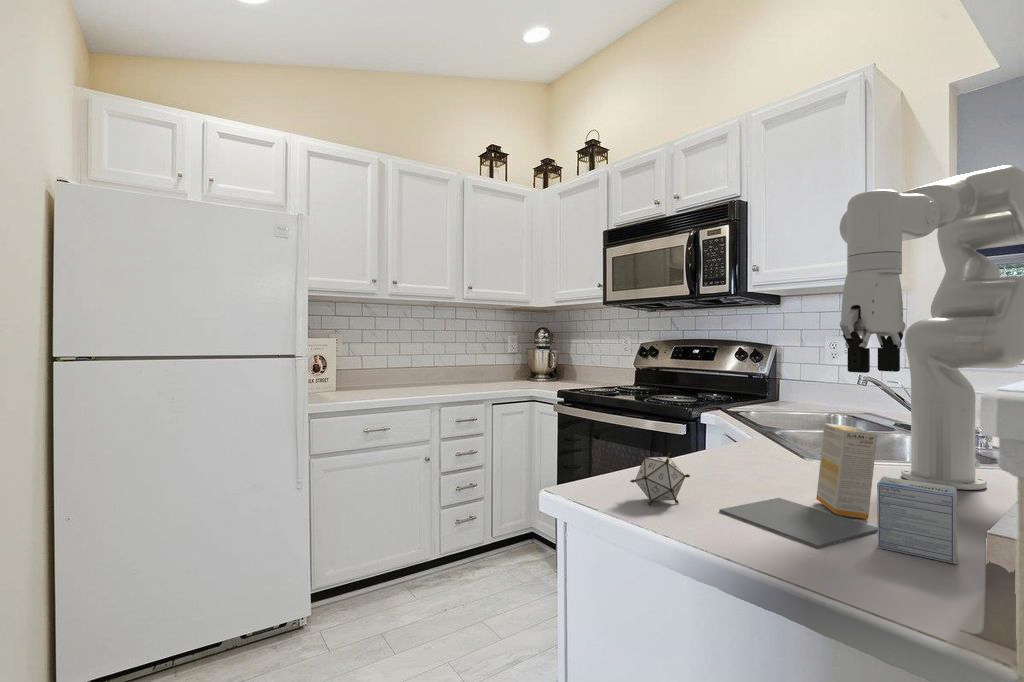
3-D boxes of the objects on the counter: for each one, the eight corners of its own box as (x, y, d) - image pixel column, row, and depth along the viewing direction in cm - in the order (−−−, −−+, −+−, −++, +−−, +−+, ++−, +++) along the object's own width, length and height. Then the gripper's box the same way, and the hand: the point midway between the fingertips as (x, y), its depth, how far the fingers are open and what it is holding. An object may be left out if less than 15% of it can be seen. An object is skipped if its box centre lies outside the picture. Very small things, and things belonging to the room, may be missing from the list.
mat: (778, 500, 87) (778, 497, 87) (880, 531, 73) (880, 528, 73) (719, 511, 81) (719, 509, 81) (818, 548, 67) (818, 545, 67)
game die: (647, 524, 86) (611, 473, 88) (674, 497, 91) (639, 449, 93) (683, 512, 79) (642, 457, 81) (710, 483, 84) (671, 432, 86)
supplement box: (870, 520, 77) (879, 434, 77) (834, 515, 78) (844, 430, 78) (846, 503, 85) (855, 425, 85) (814, 499, 86) (823, 421, 86)
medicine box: (957, 555, 65) (957, 486, 65) (956, 566, 62) (956, 494, 62) (881, 539, 70) (881, 475, 70) (876, 548, 67) (876, 482, 67)
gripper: (880, 272, 93) (879, 369, 93) (818, 266, 86) (818, 371, 86) (928, 267, 86) (928, 371, 86) (866, 259, 79) (866, 374, 79)
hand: (873, 371), depth 86 cm, fingers open, 7 cm apart
